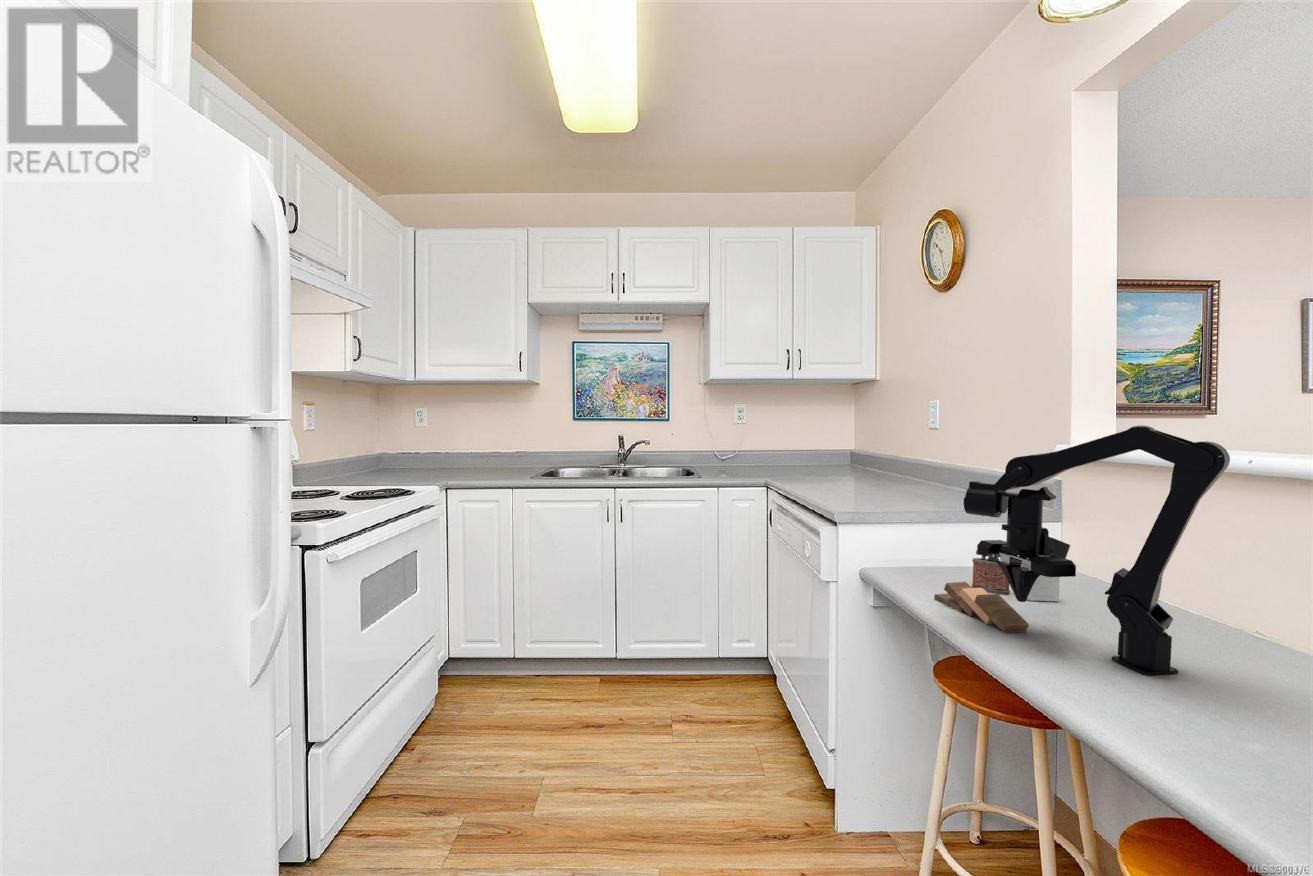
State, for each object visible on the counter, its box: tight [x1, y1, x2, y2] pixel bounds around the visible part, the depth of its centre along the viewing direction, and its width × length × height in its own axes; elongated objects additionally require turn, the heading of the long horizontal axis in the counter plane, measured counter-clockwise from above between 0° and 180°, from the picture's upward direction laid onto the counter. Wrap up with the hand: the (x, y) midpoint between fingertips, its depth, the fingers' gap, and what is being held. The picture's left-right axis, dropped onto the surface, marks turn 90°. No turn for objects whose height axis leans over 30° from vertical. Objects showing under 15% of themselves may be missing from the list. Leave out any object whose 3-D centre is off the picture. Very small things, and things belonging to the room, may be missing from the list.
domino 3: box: [960, 588, 996, 625], centre depth 125 cm, size 2×5×9 cm
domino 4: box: [974, 593, 1030, 633], centre depth 120 cm, size 2×5×9 cm
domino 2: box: [943, 581, 979, 617], centre depth 129 cm, size 2×5×9 cm
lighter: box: [971, 549, 1010, 596], centre depth 144 cm, size 8×3×10 cm, turn 58°
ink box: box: [1026, 555, 1061, 603], centre depth 138 cm, size 7×4×13 cm, turn 84°
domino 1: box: [933, 593, 966, 613], centre depth 133 cm, size 2×5×9 cm
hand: (1021, 601), depth 115 cm, fingers closed
